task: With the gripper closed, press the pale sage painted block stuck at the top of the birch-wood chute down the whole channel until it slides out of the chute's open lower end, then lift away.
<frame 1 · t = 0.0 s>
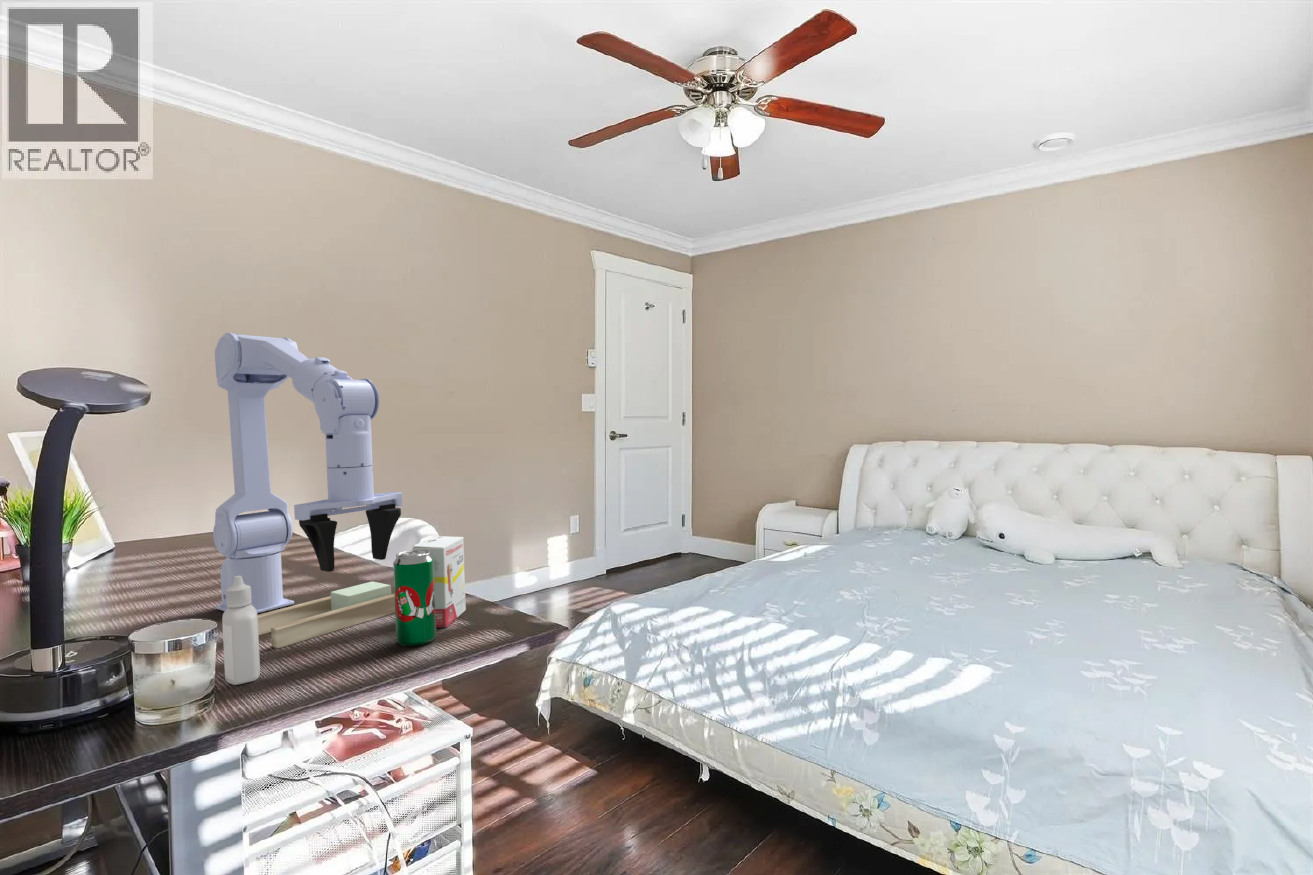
hand: (354, 564, 88), 10 cm above the table, fingers open, 7 cm apart
ink box: (441, 620, 95), on the table
chute: (331, 621, 95), on the table
sage block: (362, 613, 100), on the table
soda can: (416, 642, 86), on the table
eye dropper bottle: (242, 678, 75), on the table
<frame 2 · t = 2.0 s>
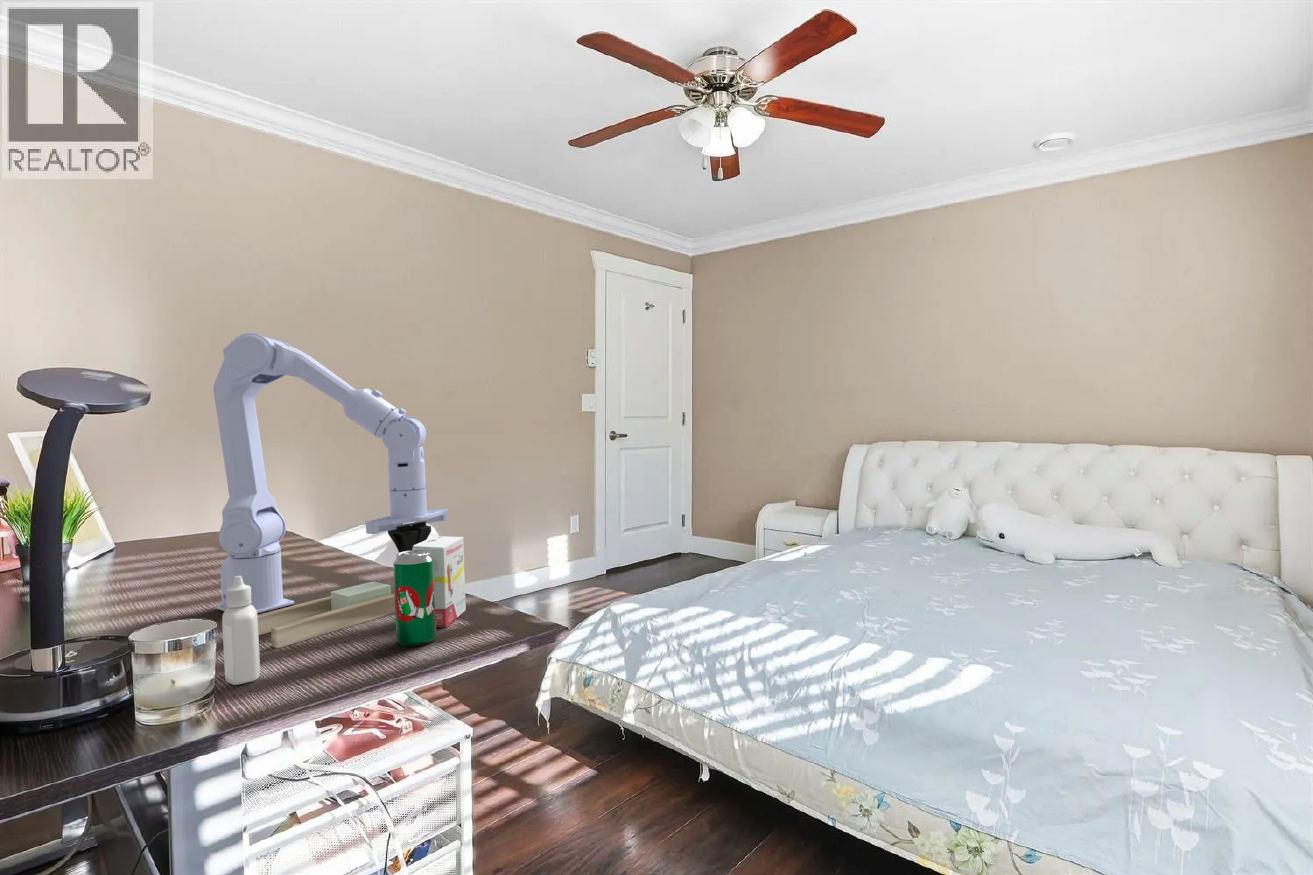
hand: (411, 569, 107), 5 cm above the table, fingers closed
nothing on the table moved.
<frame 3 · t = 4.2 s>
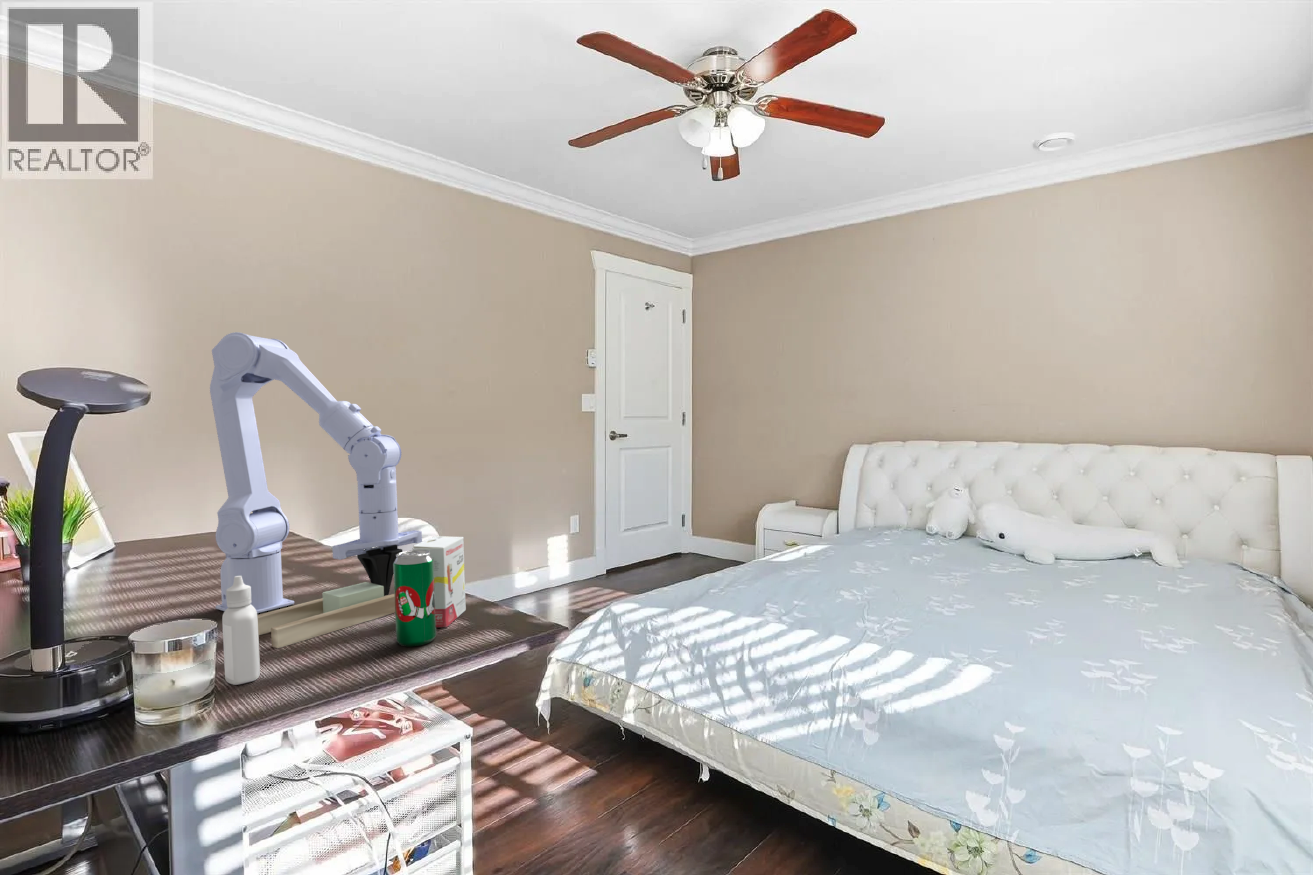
hand: (381, 594, 102), 2 cm above the table, fingers closed
sage block: (354, 614, 98), on the table, touching gripper
everything else where it was.
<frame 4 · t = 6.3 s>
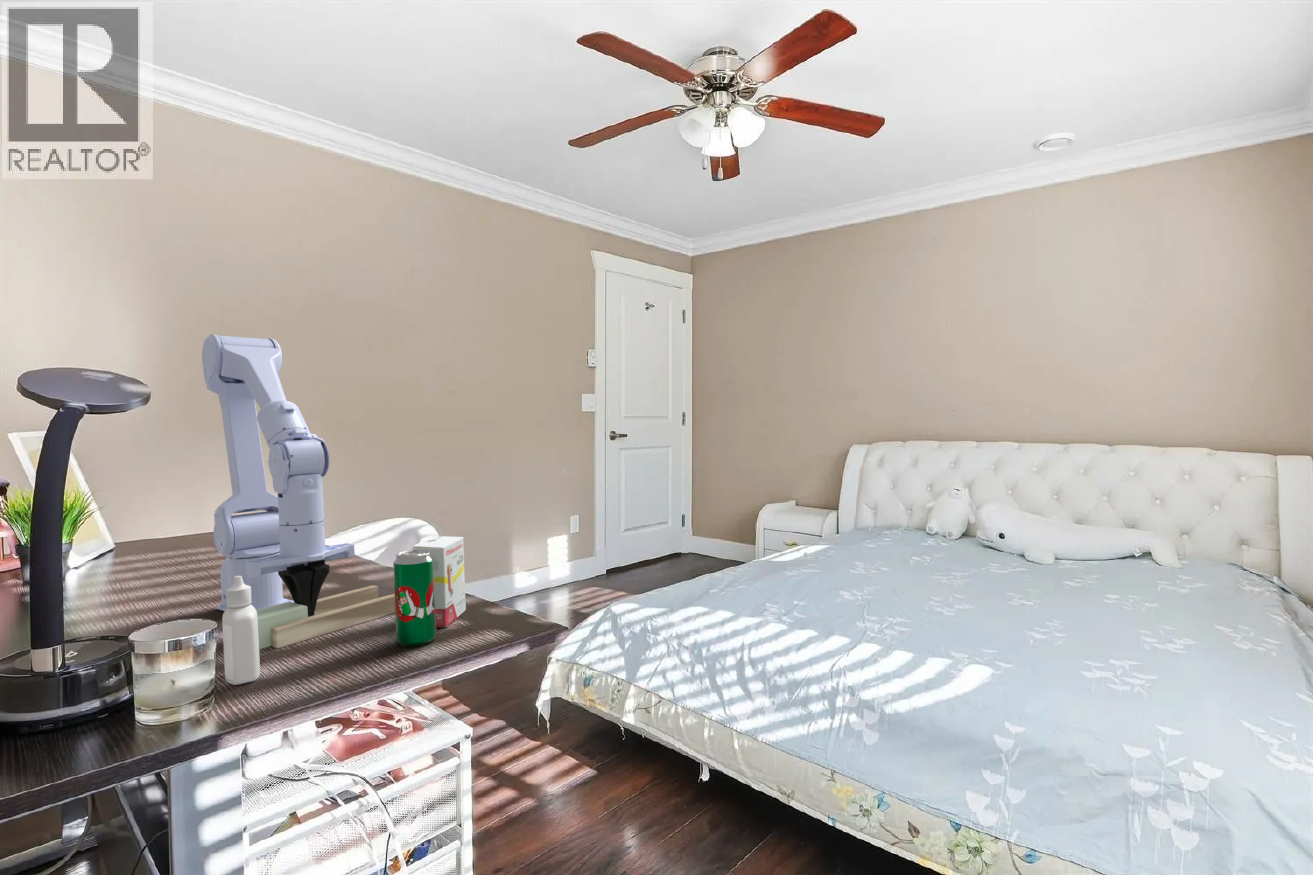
hand: (306, 615, 92), 2 cm above the table, fingers closed
sage block: (273, 638, 88), on the table, touching gripper
everything else where it was.
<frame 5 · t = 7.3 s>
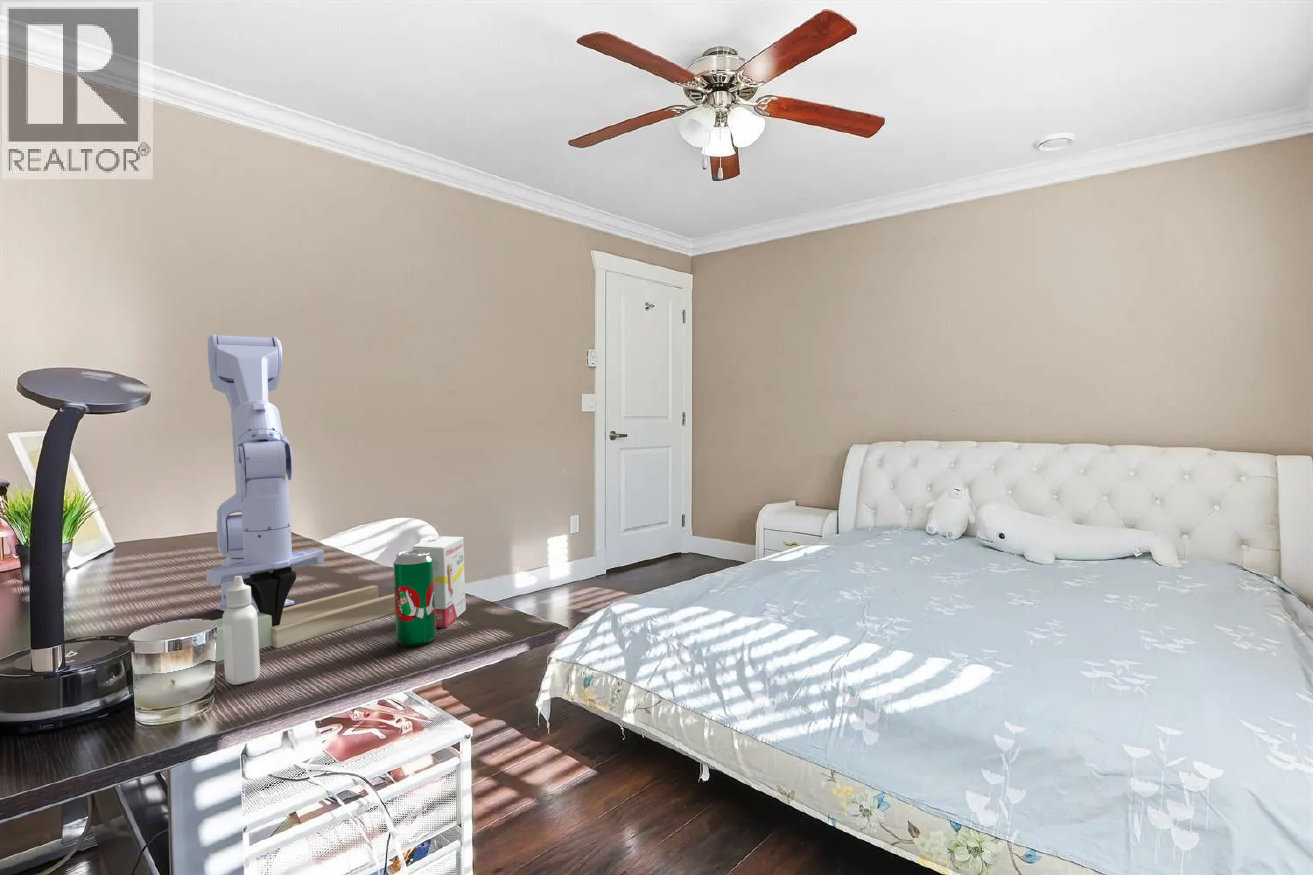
hand: (271, 625, 88), 2 cm above the table, fingers closed
sage block: (235, 650, 84), on the table, touching gripper
everything else where it was.
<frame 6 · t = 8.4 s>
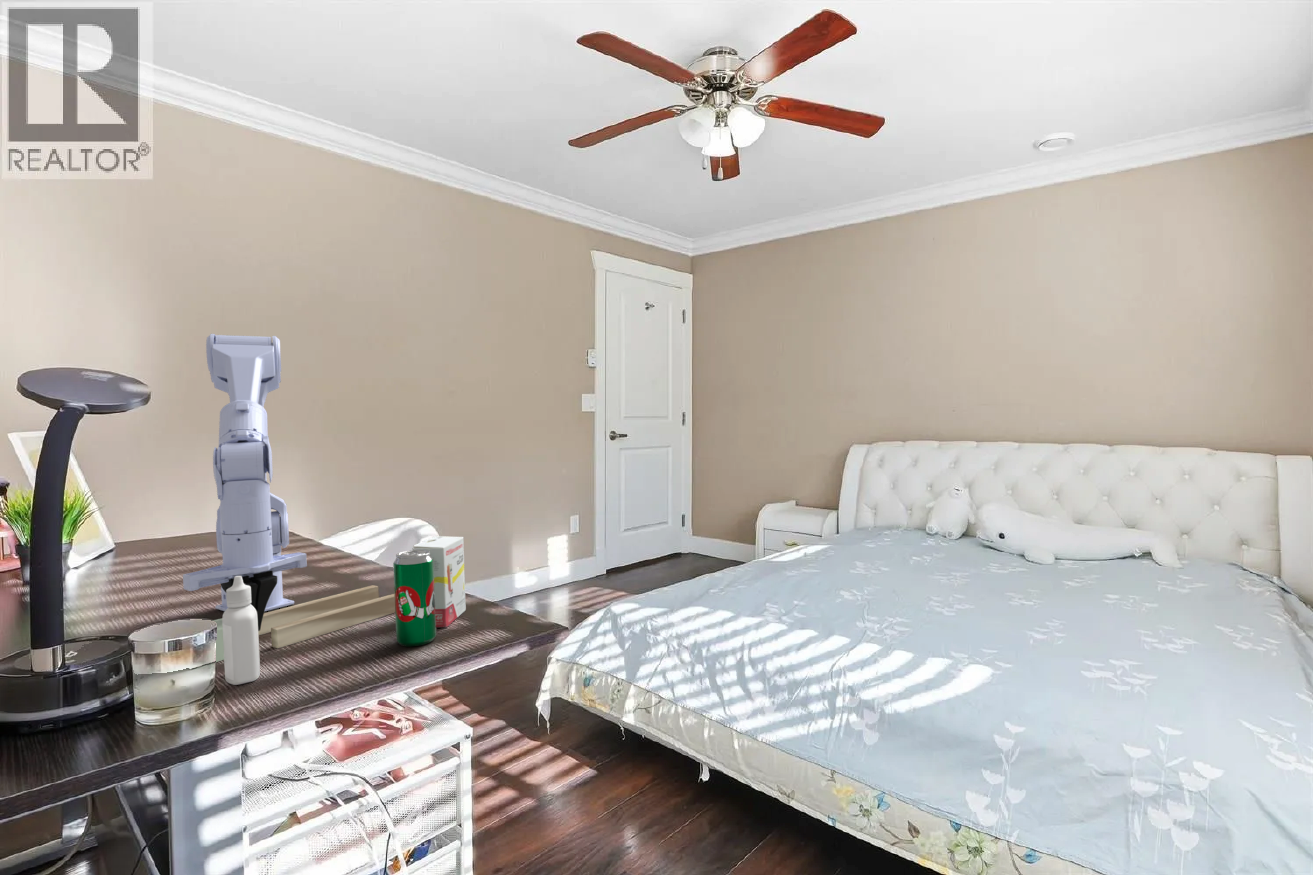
hand: (251, 630, 86), 2 cm above the table, fingers closed
sage block: (213, 656, 82), on the table, touching gripper
everything else where it was.
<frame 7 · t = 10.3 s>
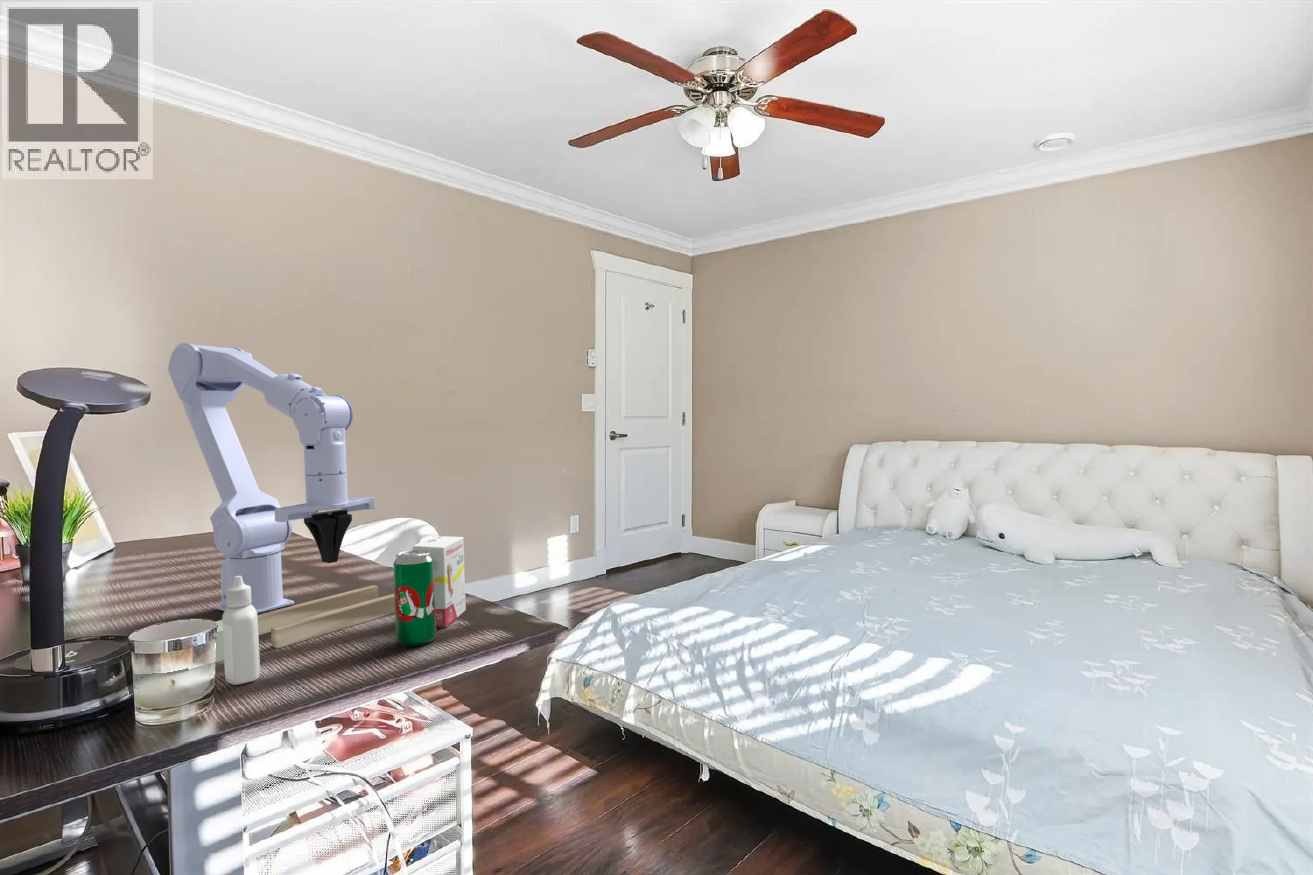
hand: (329, 561, 98), 8 cm above the table, fingers closed
sage block: (213, 658, 82), on the table
everything else where it was.
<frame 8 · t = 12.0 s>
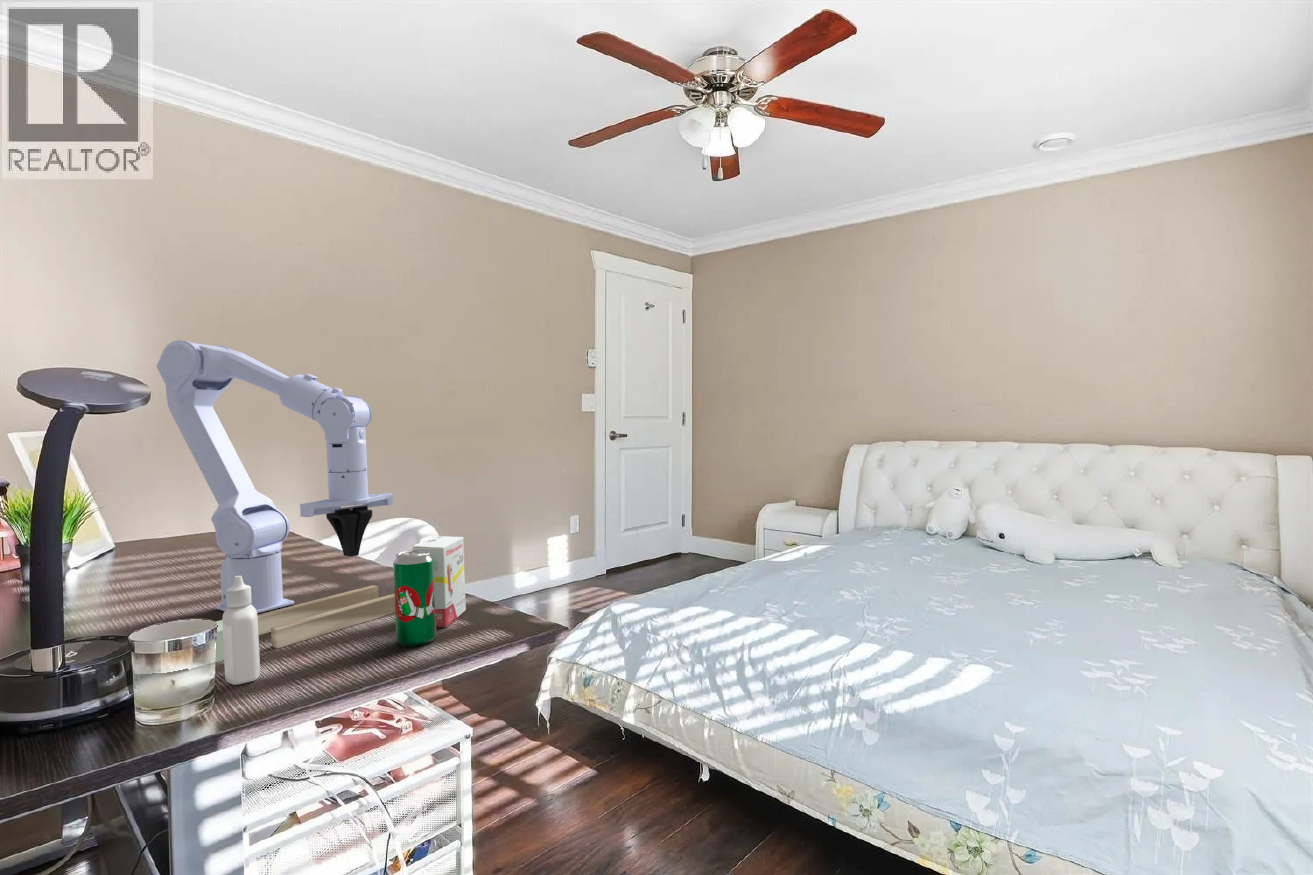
hand: (351, 555, 102), 8 cm above the table, fingers closed
nothing on the table moved.
at the end: sage block inside the target area (3.7 cm from its centre), on the table; sage block tilted 0°; the gripper is holding nothing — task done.
